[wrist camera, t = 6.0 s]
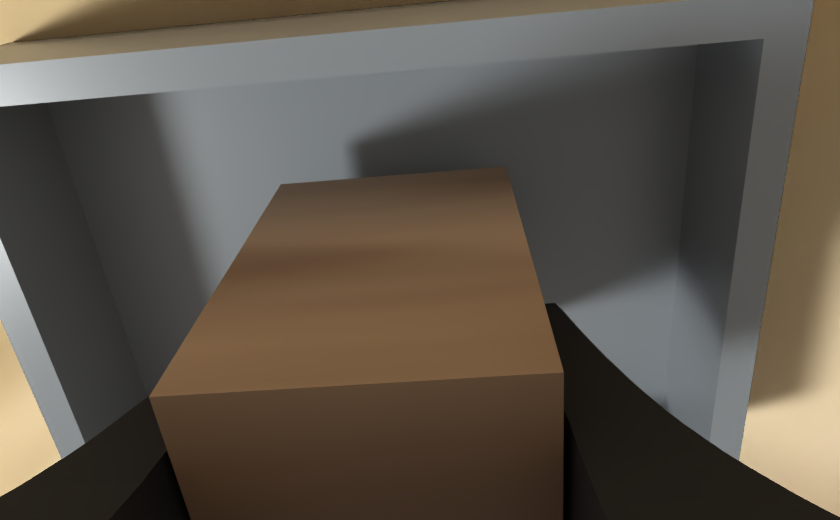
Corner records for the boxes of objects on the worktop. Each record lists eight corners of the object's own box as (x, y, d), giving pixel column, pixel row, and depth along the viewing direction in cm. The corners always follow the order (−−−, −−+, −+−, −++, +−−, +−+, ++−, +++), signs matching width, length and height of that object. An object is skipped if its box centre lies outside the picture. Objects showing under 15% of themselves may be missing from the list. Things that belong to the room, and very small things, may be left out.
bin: (680, 426, 16) (728, 525, 13) (155, 454, 17) (103, 552, 14) (728, -27, 12) (815, -12, 9) (9, 42, 12) (-108, 74, 10)
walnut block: (512, 355, 13) (563, 644, 8) (317, 368, 14) (237, 654, 8) (506, 166, 12) (564, 372, 6) (281, 184, 12) (148, 396, 6)
